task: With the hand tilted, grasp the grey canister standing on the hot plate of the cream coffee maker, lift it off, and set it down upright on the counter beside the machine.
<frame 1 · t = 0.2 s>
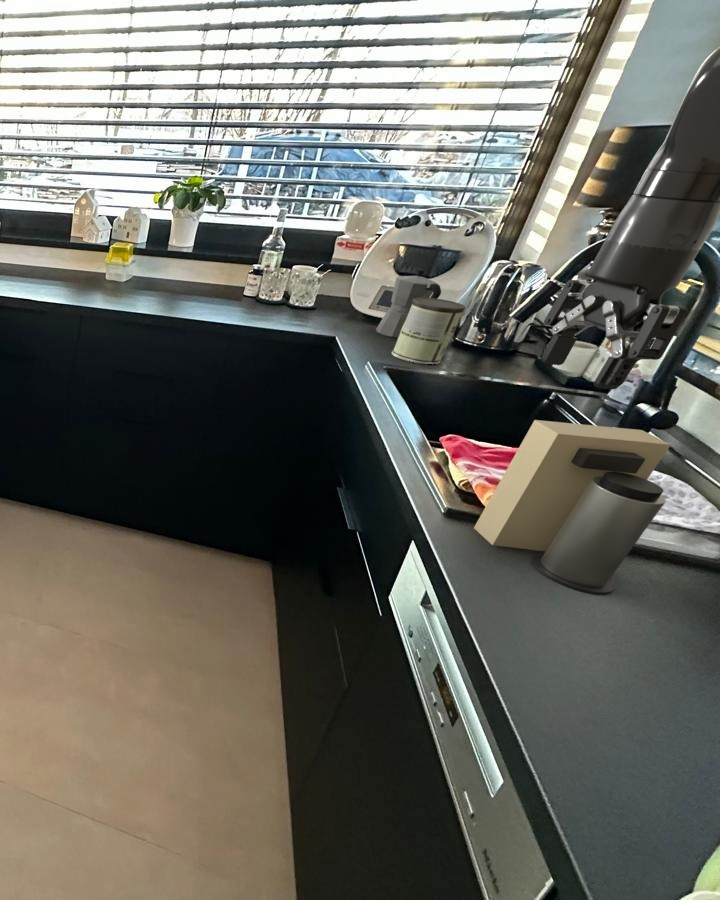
hand: (576, 375, 78), 23 cm above the counter, tool pointing down, fingers open, 8 cm apart
coffee maker: (550, 572, 80), on the counter
coffee can: (414, 358, 157), on the counter
coffeepot: (397, 336, 175), on the counter
grey canister: (572, 571, 77), point 2 cm above the counter, touching coffee maker
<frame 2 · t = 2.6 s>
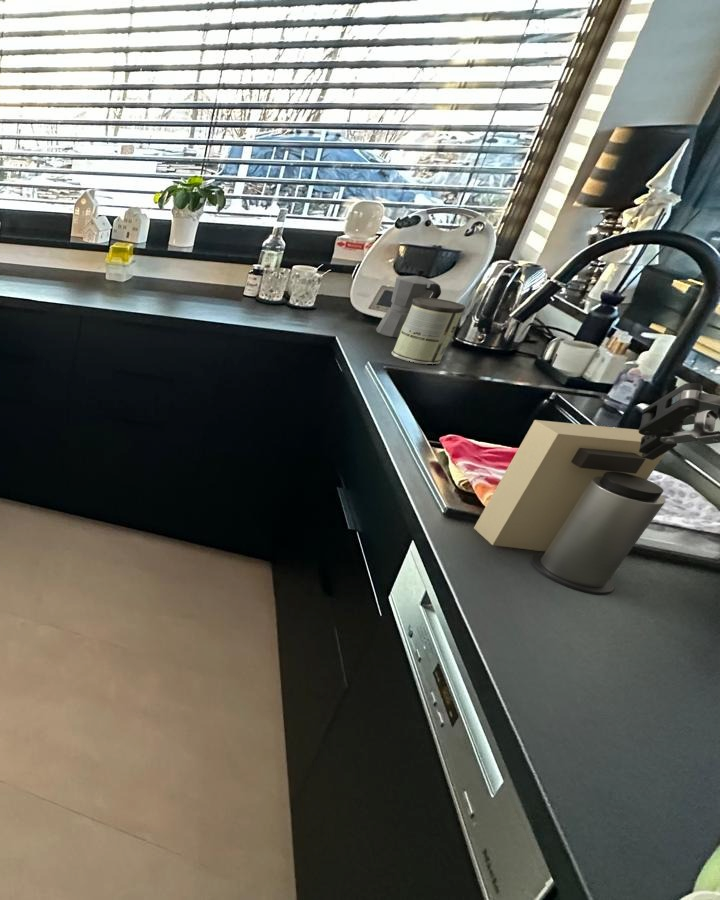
hand: (707, 463, 61), 21 cm above the counter, tool tilted 40°, fingers open, 8 cm apart
nothing on the counter moved.
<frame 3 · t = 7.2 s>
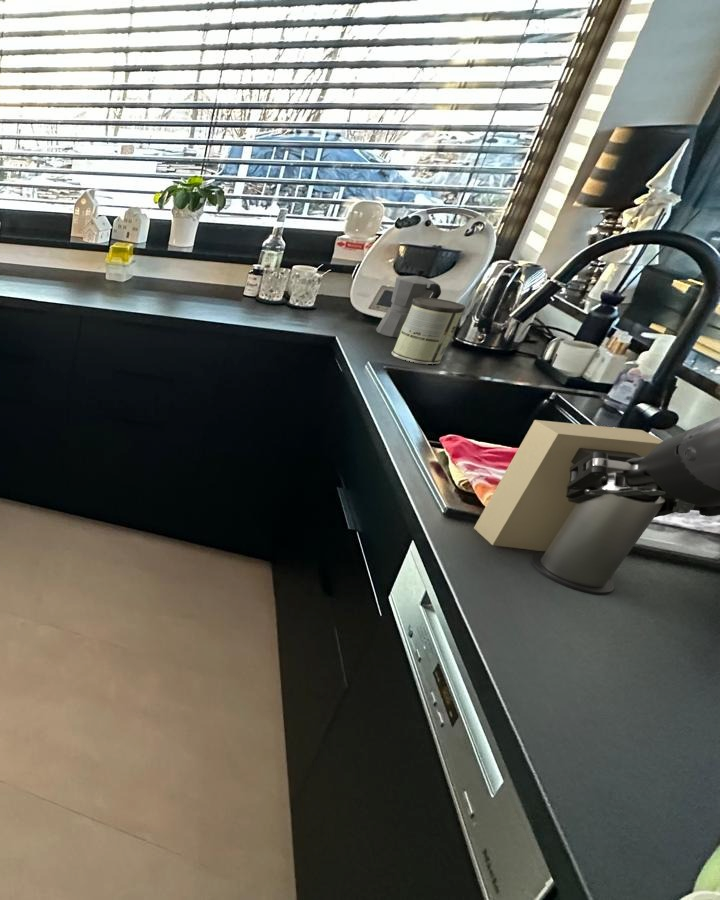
hand: (608, 502, 74), 11 cm above the counter, tool tilted 45°, fingers closed on grey canister, 6 cm apart
grey canister: (572, 571, 77), point 2 cm above the counter, touching coffee maker, gripper
everything else where it was.
when the fingers open (9 cm above the counter, at t = 16.2 s): grey canister stays where it is, on the counter.
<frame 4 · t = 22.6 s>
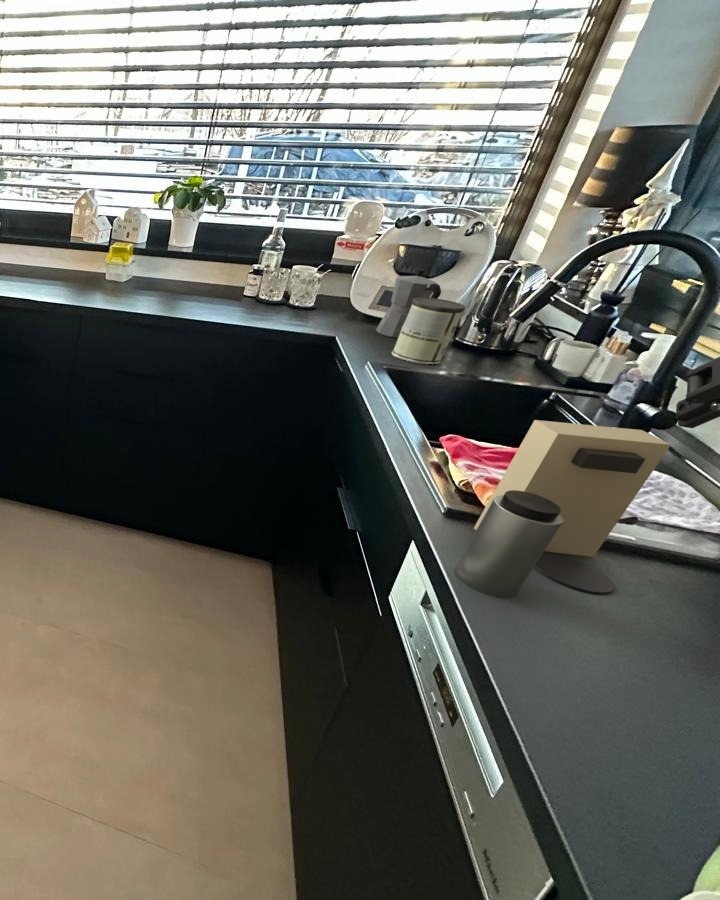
grey canister: (478, 590, 76), on the counter
everything else where it was.
at the end: grey canister inside the target area (0.2 cm from its centre), on the counter; grey canister tilted 0°; grey canister touching counter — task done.
